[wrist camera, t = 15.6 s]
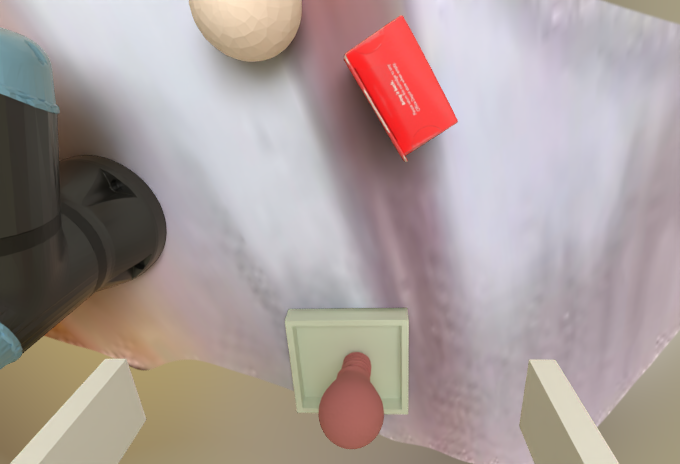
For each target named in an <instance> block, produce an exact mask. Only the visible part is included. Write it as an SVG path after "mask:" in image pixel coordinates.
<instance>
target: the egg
mask: <svg viewBox="0 0 680 464" xmlns="http://www.w3.org/2000/svg"><path fill="white" fill-rule="evenodd" d="M189 5H190V9H191V12H192V16H193V19H194V21H195V23H196V25H197V27H198V28H199V30H200V31H201V33H202V34H203V36H204V37H205V39H206V40H207V41H209V42H210V43H211V44H212V45H213V46H214V47H215V48H216V49H218V50H219V51H221V52H222V53H224V54H225V55H227V56H229V57H232V58H235V59H238V60H242V61H248V62H254V61H264V60H267V59H270V58H273V57H275V56H277V55H278V54H279V53H281V52H282V51H283V50H285V49H286V48H287V47H288V45H289V44H290V43H291V41H292V40H293V39H294V37H295V35H296V33H297V30H298V28H299V25H300V21H301V15H302V0H189Z"/></svg>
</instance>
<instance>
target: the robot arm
mask: <svg viewBox="0 0 680 464" xmlns="http://www.w3.org/2000/svg"><path fill="white" fill-rule="evenodd" d="M59 113H60V109H59V106H58V105H57V104H56V100H55V93H54V84H53V74H52V66H51V63H50V60H49V58H48V56H47V54H46V53H45V52H44V50H43V49H42V48H41V47H40V46H39V45H37V44H36V43H35V42H34V41H32V40H30V39H29V38H27V37H25V36H23V35H20V34H18V33H15V32H12V31H9V30H7V29H4V28H1V27H0V369H1V368H3V367H4V366H5V365H7V364H10V363H12V362H15V361H16V360H17V359H18V358H20V357H21V355H22V353H24V351H26V350H27V349H28V348H30V347H31V346H32V345H33V344H34V343H35V342H37V341H38V340H39V339H40V338H41V337H43V336H44V335H45V334H46V333H47V332H48V331H50V330H51V329H52V328H53V327H54V326H56V325H57V324H58V323H59V322H60V321H61V320H63V319H64V318H65V317H66V316H67V315H68V314H70V313H71V312H72V311H73V310H74V309H76V308H77V307H78V306H79V305H80V304H81V303H83V302H84V301H85V300H86V299H87V298H88V297H90V296H91V295H92V294H93V293H95V292H97V291H100V290H103V289H106V288H109V287H112V286H115V285H118V284H122V283H125V282H128V281H130V280H132V279H134V278H136V277H138V276H139V275H141V274H142V273H143V272H144V271H146V270H147V269H148V268H149V267H150V266H151V265H152V264H153V263H154V262H155V261H156V260H157V259H158V257H159V256H160V254H161V252H162V250H163V247H164V244H165V239H166V224H165V219H164V215H163V212H162V209H161V206H160V204H159V202H158V200H157V198H156V197H155V195H154V194H153V192H152V191H151V190H150V188H149V187H148V186H147V185H146V184H145V182H144V181H143V180H142V179H141V178H139V177H138V176H137V175H136V174H135V173H133V172H132V171H131V170H129V169H128V168H126V167H124V166H123V165H121V164H119V163H117V162H115V161H112V160H109V159H106V158H103V157H98V156H90V155H82V156H74V157H70V158H67V159H64V160H61V161H59V147H58V121H57V114H59ZM145 421H146V417H145V413H144V411H143V408H142V404H141V401H140V398H139V396H138V392H137V389H136V386H135V383H134V380H133V377H132V374H131V371H130V368H129V365H128V362H127V359H105V360H104V361H103V362H102V363H101V364H100V365H99V366H98V367H97V369H96V370H95V371H94V372H93V373H92V374H91V375H90V376H89V377H88V378H87V379H86V380H85V382H84V383H83V384H82V385H81V386H80V387H79V388H78V389H77V390H76V392H75V393H74V394H73V395H72V396H71V397H70V398H69V399H68V400H67V401H66V403H65V404H64V405H63V406H62V407H61V408H60V409H59V410H58V411H57V413H56V414H55V415H54V416H53V417H52V418H51V419H50V420H49V421H48V422H47V424H46V425H45V426H44V427H43V428H42V429H41V430H40V431H39V432H38V433H37V435H36V436H35V437H34V438H33V439H32V440H31V441H30V442H29V443H28V445H27V446H26V447H25V448H24V449H23V450H22V451H21V452H20V453H19V454H18V456H17V457H16V458H15V459H14V460H13V461H12V462H11V463H10V464H118V463H119V462H120V460H121V459H122V457H123V455H124V454H125V452H126V451H127V449H128V447H129V446H130V444H131V443H132V441H133V440H134V438H135V437H136V435H137V433H138V432H139V430H140V429H141V427H142V426H143V424H144V422H145ZM519 426H520V429H521V431H522V434H523V436H524V439H525V441H526V444H527V446H528V448H529V451H530V453H531V456H532V458H533V461H534V463H535V464H619V463H618V461H617V460H616V458H615V456H614V455H613V453H612V451H611V450H610V448H609V447H608V445H607V443H606V442H605V440H604V438H603V437H602V435H601V434H600V432H599V430H598V429H597V427H596V425H595V424H594V422H593V420H592V419H591V417H590V416H589V414H588V412H587V411H586V409H585V408H584V406H583V404H582V403H581V401H580V399H579V398H578V396H577V395H576V393H575V391H574V390H573V388H572V386H571V385H570V383H569V382H568V380H567V378H566V377H565V375H564V373H563V372H562V370H561V369H560V367H559V365H558V364H557V362H556V360H529V364H528V371H527V377H526V384H525V391H524V397H523V404H522V411H521V418H520V424H519Z"/></svg>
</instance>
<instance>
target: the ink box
mask: <svg viewBox="0 0 680 464" xmlns="http://www.w3.org/2000/svg"><path fill="white" fill-rule="evenodd" d="M344 61H345V63H346V64H347V66H348V68H349V69H350V71H351V73H352V75H353V76H354V78H355V80H356V81H357V83H358V85H359V86H360V88H361V90H362V91H363V93H364V95H365V96H366V98H367V100H368V102H369V103H370V105H371V106H372V108H373V110H374V111H375V113H376V115H377V117H378V118H379V120H380V122H381V124H382V125H383V127H384V129H385V131H386V132H387V134H388V136H389V137H390V139H391V141H392V143H393V144H394V146H395V148H396V149H397V151H398V153H399V154H400V156H401V158H402V159H403V160H404V162H407V161H408V160H407V158H406V157H405V156H406V155H407V154H409V153H411V152H412V151H414V150H415V149H417V148H419V147H420V146H422V145H423V144H425V143H426V142H428V141H429V140H431V139H433V138H434V137H436V136H437V135H439V134H440V133H442V132H444V131H445V130H447V129H448V128H450V127H451V126H453V125H454V124H456V123H457V122H458V121H457V118H456V116H455V114H454V112H453V110H452V108H451V106H450V104H449V102H448V100H447V98H446V96H445V94H444V92H443V91H442V89H441V87H440V85H439V83H438V81H437V79H436V77H435V75H434V73H433V71H432V69H431V67H430V65H429V63H428V62H427V60H426V58H425V56H424V54H423V52H422V50H421V48H420V46H419V45H418V43H417V41H416V39H415V37H414V35H413V33H412V31H411V30H410V28H409V26H408V24H407V23H406V21H405V19H404V17H403V16H402V15H400V16H399V17H397V18H396V19H394V20H393V21H391V22H390V23H388V24H387V25H385V26H384V27H382V28H381V29H380V30H378V31H377V32H375V33H374V34H372V35H371V36H369V37H368V38H367V39H365V40H364V41H362V42H361V43H359V44H358V45H357V46H355V47H354V48H352V49H351V50H350V51H348V52H347V53H345V54H344Z"/></svg>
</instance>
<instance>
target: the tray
mask: <svg viewBox="0 0 680 464" xmlns="http://www.w3.org/2000/svg"><path fill="white" fill-rule="evenodd" d="M285 326H286V334H287V341H288V349H289V356H290V363H291V371H292V378H293V386H294V393H295V400H296V408H297V413H319V404H320V401H321V398H322V396H323V394H324V392H325V391H326V390H327V388H328V387H329V386H330V385H331V384H332V382H334V381H335V380H336V379H337V374H338V372H339V371H340V370H341V368H342V365H343V360H344V358H345V357H346V356H347V355H348V354H350V353H353V352H360V353H363V354H365V355H366V356H368V358H369V359H370V361H371V376H370V382H371V383H372V385H373V386H374V387H375V389H376V391H377V392H378V394H379V396H380V398H381V400H382V403H383V409H384V414H408V346H409V319H408V312H407V308H342V309H289V310H288V313H287V316H286V319H285Z"/></svg>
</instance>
